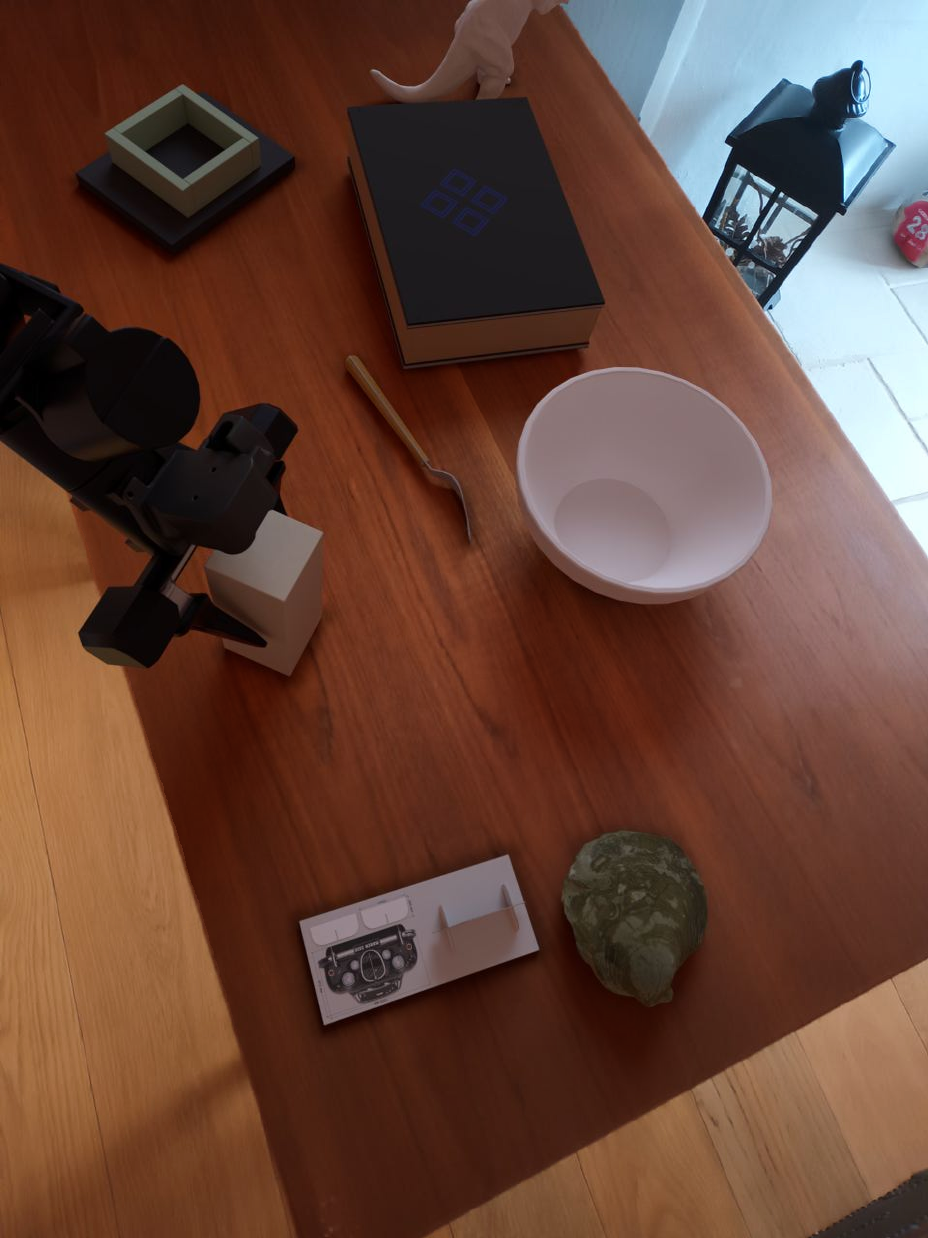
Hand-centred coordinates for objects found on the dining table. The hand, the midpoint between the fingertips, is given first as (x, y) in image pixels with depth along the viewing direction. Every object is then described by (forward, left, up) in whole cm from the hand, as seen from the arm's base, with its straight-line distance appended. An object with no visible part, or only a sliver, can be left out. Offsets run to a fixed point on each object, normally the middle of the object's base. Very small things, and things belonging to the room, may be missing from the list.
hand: (285, 605), depth 60 cm
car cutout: (+8, -22, -7) cm, 24 cm away
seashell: (+23, -22, -7) cm, 33 cm away
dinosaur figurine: (+21, +60, -7) cm, 64 cm away
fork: (+11, +17, -7) cm, 21 cm away
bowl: (+27, +8, -7) cm, 29 cm away
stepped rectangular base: (-7, +48, -7) cm, 49 cm away
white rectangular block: (-1, +1, -7) cm, 7 cm away
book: (+18, +38, -7) cm, 42 cm away
